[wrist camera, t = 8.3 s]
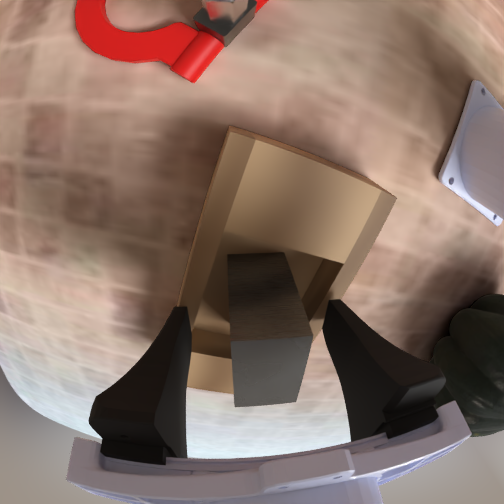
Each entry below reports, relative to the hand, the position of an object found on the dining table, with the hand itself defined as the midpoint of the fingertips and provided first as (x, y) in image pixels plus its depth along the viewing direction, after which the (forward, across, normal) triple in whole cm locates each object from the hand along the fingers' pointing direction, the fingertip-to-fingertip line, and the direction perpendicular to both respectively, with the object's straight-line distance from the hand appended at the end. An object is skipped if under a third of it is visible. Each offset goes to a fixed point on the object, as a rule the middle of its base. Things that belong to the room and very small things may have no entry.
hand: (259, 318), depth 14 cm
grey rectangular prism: (+2, 0, 0) cm, 2 cm away
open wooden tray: (+3, 0, 0) cm, 3 cm away
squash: (+4, -23, +9) cm, 25 cm away
